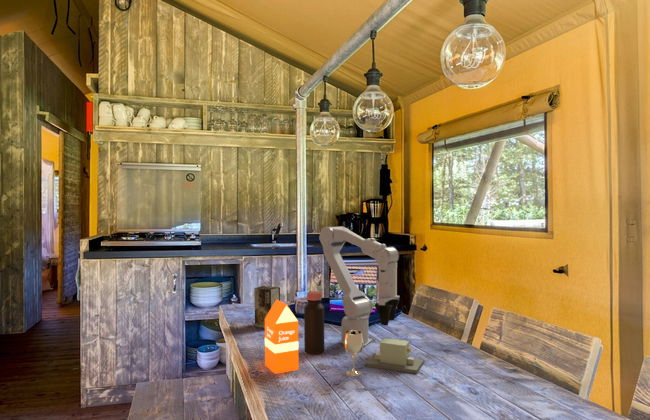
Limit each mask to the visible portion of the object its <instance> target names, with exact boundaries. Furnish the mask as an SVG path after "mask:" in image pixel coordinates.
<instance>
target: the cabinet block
mask: <svg viewBox="0 0 650 420" xmlns="http://www.w3.org/2000/svg"><path fill="white" fill-rule="evenodd" d="M410 353H412V348H411V347H410V340H401V339H395V338H386V337H385V338H383V339H382V340H381V341H380V342H379V354H380V362H383V363H390V364H397V365H405V366H406V365H407V357H409V358H411V357H410Z"/></svg>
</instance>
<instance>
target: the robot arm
mask: <svg viewBox="0 0 650 420" xmlns="http://www.w3.org/2000/svg"><path fill="white" fill-rule="evenodd" d="M318 239H319V241H320V244H321V245H322V250H323V255H324V257H325V259H326V261H327V264H328V265H329V267H330V269H331V271H332V274H333V275H334V278H335V280H336V281H337V284H338V285H339V287H340V289H341V292H342V294H343V298H342V301H341V303H342V306H343V311H344V314H345V316H344V317H343V318H342V319H341V328H340V331H341V337H340V338H341V339H340V340H341V341H340V344H344V337H345V333H346V331H349V330H357V331H361V333H362V337H363V347H366V346H368V344H370V343H371V342H372V341H373V339H372V338H369V318H370V314H371V313H372V311H373V302H372V301H371V299H370V298H369V297H368V296H367V295H366V293H365V292H363V291H362V290H360V289H359V288H358V286H357V285H356V283H355V281H354V278H353V276H352V275H351V273H350V271H349V269H348V268H347V265H346V264H345V262H344V260H343V257H342V255H341V253H340V252H341V250H342V249H343V246H344V244H345V243H346V242H348V243H349V244H352V245H354V246H356V247H359V248H360V249H361V252H362V253H363V254H365V255H367V256H369V258H370V257H371V258H372V259H375V261H376V263H377V268H378V300H377V301H378V302H376V303H375V304H374V307H375V309H376V310H377V312H378V316H379V320H380V325H381V326H389V322H390V321H395V317H396V313H397V312H396V311H397V307H398V305H399V302H400V300H401V299H400V295H397V268H396V267H397V266H396V265H397V262H398V261H399V258H400V253H399V251H398V250H397V248H396V247H394V246H388V247H387V244H386V243H380V242H378V241H377V240H376V238H374V237H370V238H369V237H368V238H363V237H362V236H361V235H358V234H357V233H355V232H353V231H352V230H350V229H349V228H348V227H345V226H342V225H340V226H324V227H322V228H321V231H320V233H319V236H318Z"/></svg>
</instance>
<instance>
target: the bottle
mask: <svg viewBox="0 0 650 420" xmlns="http://www.w3.org/2000/svg"><path fill="white" fill-rule="evenodd" d="M306 300H307V303H306V305H305V306H304V308H303V309H304V313H303V314H304V315H303V316H304V318H303V320H304V323H303V324H304V325H303V326H304V335H303V336H304V339H303V340H304V345H303V346H304V350H303V351H304V353H305V354H307V355H311V356H317V355H321V354H323V353H324V352H325V306H324V305H323V304H322V303H321V302H322V292H321V291H313V290H312V291H308V292H306Z"/></svg>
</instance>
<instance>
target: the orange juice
mask: <svg viewBox="0 0 650 420" xmlns="http://www.w3.org/2000/svg"><path fill="white" fill-rule="evenodd" d="M264 365H265V367H266V368H268V369H269V370H270V371H271V372H272V373H273V374H276V375H277V374H283V373H286V372H287V373H288V372H292V371H293V372H294V371H298V370H299V320H298V319H297V317H296V316H295V315H294V313H293V312H292V310H291V309H290V307H289V306H288V304H287V303H284V302H283V301H281V300H280V301H279V300H277V299H276V301H275V303H274V304H273V306H272V308H271V309H270V311H269V313H268V314H267V316H266V318H265V328H264Z"/></svg>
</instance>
